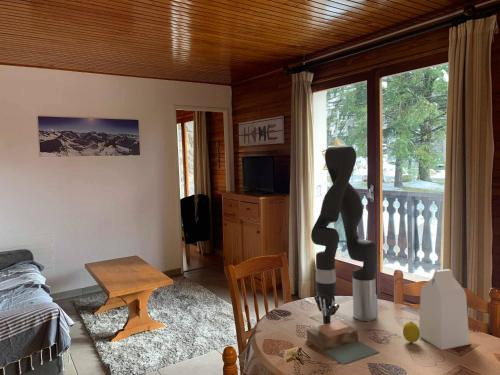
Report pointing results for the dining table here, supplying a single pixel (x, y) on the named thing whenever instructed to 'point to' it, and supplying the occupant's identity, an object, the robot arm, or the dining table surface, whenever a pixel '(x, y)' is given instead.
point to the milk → (443, 311)
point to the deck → (331, 338)
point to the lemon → (411, 332)
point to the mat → (351, 352)
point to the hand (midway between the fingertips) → (326, 324)
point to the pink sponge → (334, 328)
